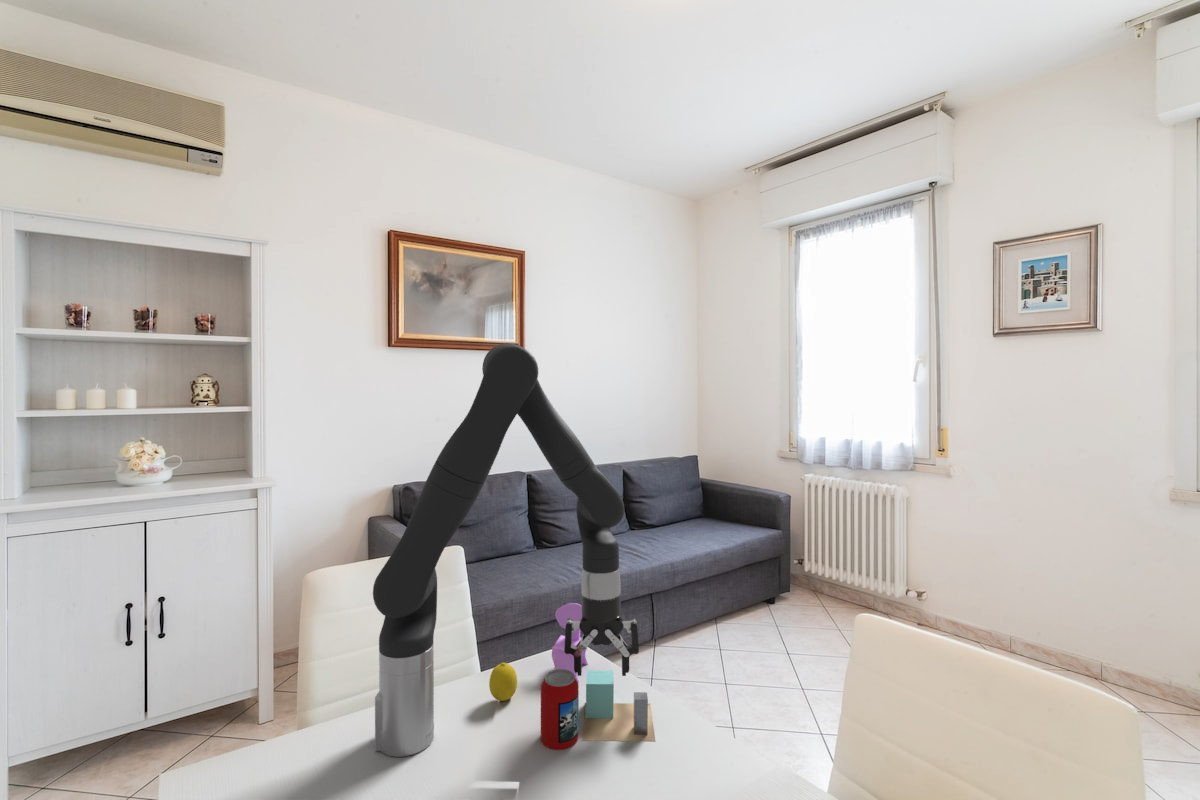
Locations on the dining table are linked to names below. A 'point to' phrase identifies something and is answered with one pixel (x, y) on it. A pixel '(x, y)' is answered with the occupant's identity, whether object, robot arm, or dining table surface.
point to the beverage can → (559, 710)
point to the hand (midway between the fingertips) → (601, 673)
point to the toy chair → (558, 653)
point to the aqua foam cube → (599, 694)
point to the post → (640, 713)
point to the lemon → (503, 682)
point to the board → (616, 725)
